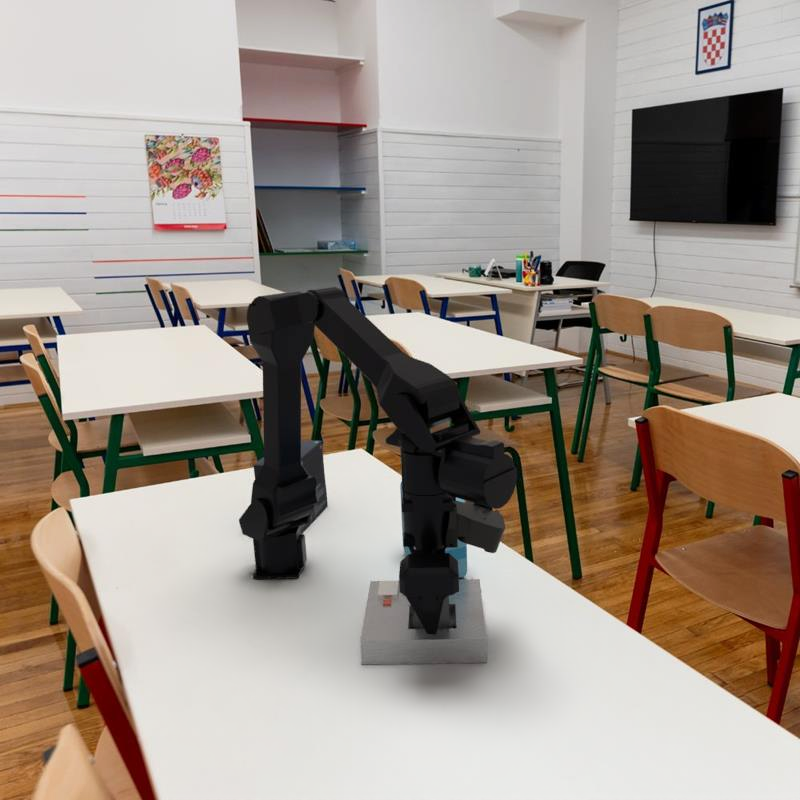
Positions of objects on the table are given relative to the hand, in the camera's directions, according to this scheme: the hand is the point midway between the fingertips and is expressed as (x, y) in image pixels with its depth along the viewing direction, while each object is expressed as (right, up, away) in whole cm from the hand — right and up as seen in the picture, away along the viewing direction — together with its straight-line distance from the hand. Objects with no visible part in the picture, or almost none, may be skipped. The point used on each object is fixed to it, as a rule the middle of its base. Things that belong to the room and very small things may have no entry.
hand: (431, 612), depth 91 cm
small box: (-21, +5, +38) cm, 44 cm away
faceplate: (-1, -3, +3) cm, 4 cm away
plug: (0, -3, +1) cm, 4 cm away
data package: (+1, +1, +19) cm, 19 cm away
